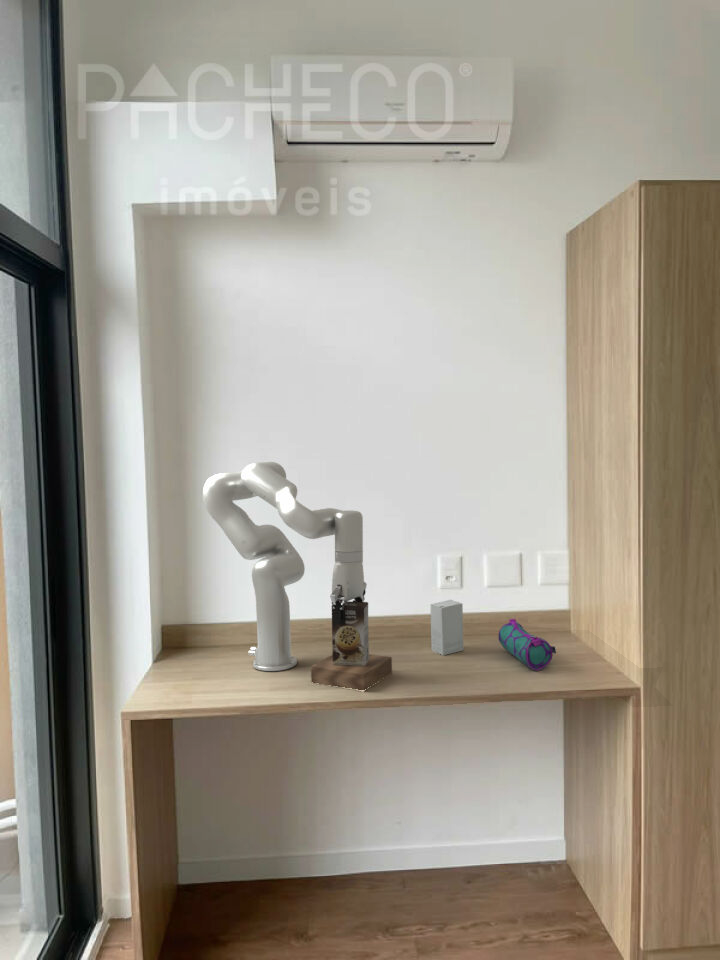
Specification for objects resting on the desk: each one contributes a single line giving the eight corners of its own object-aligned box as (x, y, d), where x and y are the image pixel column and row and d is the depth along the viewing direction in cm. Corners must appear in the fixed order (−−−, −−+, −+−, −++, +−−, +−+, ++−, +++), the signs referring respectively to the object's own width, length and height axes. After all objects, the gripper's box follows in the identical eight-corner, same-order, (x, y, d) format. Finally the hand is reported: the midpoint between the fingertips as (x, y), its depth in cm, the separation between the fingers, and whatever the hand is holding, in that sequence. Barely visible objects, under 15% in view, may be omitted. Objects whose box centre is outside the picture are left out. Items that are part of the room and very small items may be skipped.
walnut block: (311, 684, 188) (311, 666, 188) (342, 667, 202) (341, 650, 202) (363, 693, 181) (363, 674, 180) (392, 675, 194) (391, 657, 194)
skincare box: (451, 646, 218) (451, 599, 217) (464, 651, 213) (463, 602, 212) (430, 651, 213) (429, 602, 213) (442, 656, 208) (441, 606, 207)
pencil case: (556, 670, 194) (556, 636, 193) (526, 673, 192) (525, 638, 191) (524, 649, 214) (523, 617, 213) (496, 651, 212) (496, 619, 212)
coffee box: (331, 665, 188) (330, 605, 188) (337, 658, 195) (335, 600, 194) (365, 666, 187) (363, 606, 186) (369, 659, 193) (368, 600, 192)
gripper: (353, 550, 199) (353, 610, 200) (319, 560, 184) (320, 625, 185) (376, 553, 195) (376, 613, 196) (344, 563, 180) (344, 629, 181)
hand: (349, 619), depth 191 cm, fingers open, 9 cm apart
